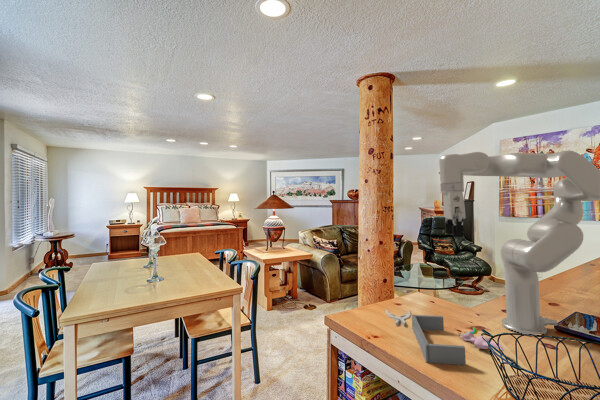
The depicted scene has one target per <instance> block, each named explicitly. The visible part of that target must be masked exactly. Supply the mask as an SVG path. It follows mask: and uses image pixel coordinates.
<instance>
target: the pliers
mask: <svg viewBox="0 0 600 400" xmlns="http://www.w3.org/2000/svg"><path fill="white" fill-rule="evenodd" d="M385 314H386V315H387V316H388V317H389V318H391V319H392V320H394V321H395V327H398V325H399V324H401V325H402V326H403V327H406V321H405V320H407V319H409V318H410V317H411V312H410V310H407V313H406V314H402V315H400V316H398V315H396V314H394V313H393V314H392V313H390V312H389V311H388V309H387V308H386V309H385Z"/></svg>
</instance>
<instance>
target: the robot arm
mask: <svg viewBox="0 0 600 400" xmlns="http://www.w3.org/2000/svg"><path fill="white" fill-rule="evenodd" d="M438 163H439V165H438V166H439V177H440V178H439V182H440V186H439V187H440V194H443V196H442V197H443V198H442V199H443V217H444V218H445V220H444V221H445V222H444V225H445V234H447V235H448V234H449V235H450V234H452V237H453V238H464V237H465V236H464V222H463V221H464V220H465V219H466V207H465V205H466V204H465V199H464V197H465V196H464V194H463V193H464V192H465V187H464V186H465V185H464V176H468V177H469V176H471V177H472V176H473V177H503V178H505V177H506V178H509V177H510V178H511V177H513V178H515V177H517V178H519V177H520V178H543V179H550V178H560V177H565V178H561V179H560V180H558V181H557V182H556V183H555V184H554V185H553V186H554V187H553V197H554V203H553V206H552V208H551V209H549V211H547V212H546V213H545V214H544V215H543V216H542V217H540V218H539V219H538V220H536V221H535V222H534V223H533V224H532V225H530V227H528V230H527V233H526V235H527V238H528V240H526V239H522V238H521V239H520V238H513V239H510V240H507V241H505V242H504V243H503V244H502V246H501V248H500V256H501V261H502V265H503V270H504V286H505V287H504V288H505V305H506V306H505V308H506V309H505V310H506V311H505V312H506V313H505V314H506V317H504V318H503V319H502V320H501V325H502V326H503V327H504V328H505V329H507V330H509V329H510V330H509V331H511V330H513V331H512V332H514V331H516V332H515V333H517V332H519V333H518V334H521V333H522V335H525V334H534V335H535V334H544V335H546V334H547V333H548V330H547V326H558V321H557V319H548V317H546V316H545V317H544V316H541V303H540V302H541V301H540V280H539V275H538V273H546V272H549V271H551V270H553V269H554V268H556V267H558V266H559V265H560V264H561V263H563V262H564V261H565V260H566V259H567V258H569V257H571V255H573V254H574V253H575V252H576V251H577V250H579V249H580V247H581V245H582V244H583V242H584V232H583V230H582V229H581V227H579V226H578V224H580V222H581V221H582V219H583V218H584V211H583V205H582V202H596V201H600V169H599V168H598V167H596V165H594V164H593V162H591V161H590V160H589V159H587V158H586V157H585V156H583V155H582V154H580V153H578V152H577V151H573V150H569V149H568V150H562V151H558V152H553V153H536V152H534V153H533V152H532V153H529V152H527V153H526V152H511V153H505V154H500V155H492V156H489V155H488V154H487V153H484V152H481V151H473V152H468V153H462V154H460V153H459V154H457V153H452V154H451V153H450V154H444V155H441V156H440V158H439V161H438Z"/></svg>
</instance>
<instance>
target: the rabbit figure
mask: <svg viewBox="0 0 600 400" xmlns="http://www.w3.org/2000/svg"><path fill="white" fill-rule="evenodd" d="M472 329H473V330H470V331H469V332H468V331H464V333H462V332H459V331H458V332H457V333H458V334H457V337H458V338H460V337H461V339H462V340H463V341H465V342H471V343H473V344H474V346H475V347H476V348H479V349H482V350H488V344H487V342H486V341H489V340H490V338H488V337H487V336H483V335H479V336H477V337H475V335H477V334H478V331H479V330H478V329H477V328H476V327H475V326H472ZM482 337H483V338H484V339H485V340H486V341H484V340H483V339H482ZM495 342H496V341H494V340H493V341H492V340H491V342H490V344H491V345H493V346H494V347H495V348H497V349H499V348H498V347H497V345H496V343H495ZM499 346H500V349H499V350H501V351H504V347H503V345H501V344H500V343H499Z"/></svg>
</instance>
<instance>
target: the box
mask: <svg viewBox="0 0 600 400" xmlns="http://www.w3.org/2000/svg"><path fill="white" fill-rule="evenodd" d="M411 326H412V327H411V329H412V332H413V334H414V336H415V338H416V341H417V343H418V345H419V348H420V350H421V353H422V356H423V358H424V360H425V363H428V364H429V363H430V364H441V365H442V364H444V365H455V366H456V365H458V366H466V365H467V364H466V362H467V361H466V360H467V359H466V347H465V346H464V345H458V344H457V345H455V344H454V345H453V344H439V343H438V344H437V343H436V344H435V343H429V342H428V340H427V338H426V336H425V334H424V332H423V331H435V332H444V331H445V326H444V316H442V315H428V314H427V315H422V314H411Z"/></svg>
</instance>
